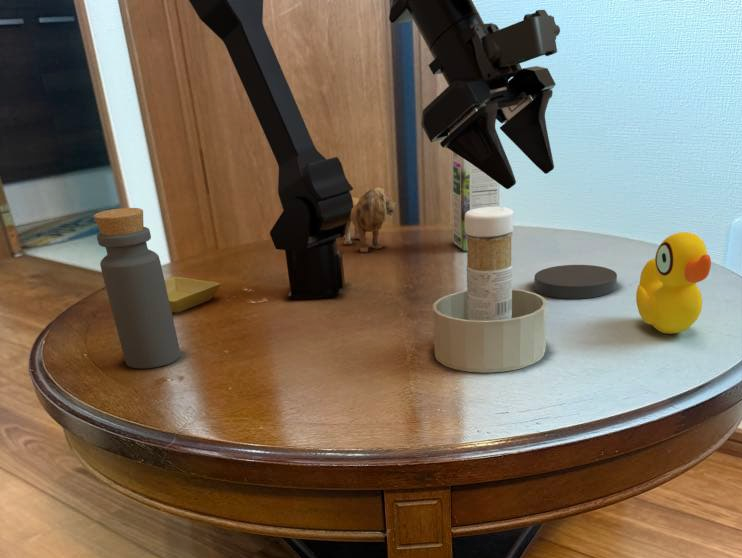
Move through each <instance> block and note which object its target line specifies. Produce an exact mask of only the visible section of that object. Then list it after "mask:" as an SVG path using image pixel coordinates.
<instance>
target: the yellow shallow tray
mask: <svg viewBox="0 0 742 558" xmlns="http://www.w3.org/2000/svg"><path fill="white" fill-rule="evenodd" d="M164 280H165V285H166V289H167V294H168V298H169V303H170V307H171V312H172V313H175V314H177V313H180V312H182V311H183V312H184V311H185V310H188V309H190V308H194V307H195V306H198V305H201V304H205V303H207V302H209V301H210V300H211V299H213V297H214V296H215V294H217V292H218V290H219V289H220V287H221V283H220V282H217V281H209V280H204V279H203V280H202V279H194V278H187V277H180V276H174V277H173V276H172V277H169V278H167V279H164Z"/></svg>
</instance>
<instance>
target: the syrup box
mask: <svg viewBox="0 0 742 558" xmlns="http://www.w3.org/2000/svg"><path fill="white" fill-rule="evenodd" d="M500 197H501V185H500V184H499V183H497V182H496V181H495V180H493V179H492V178H491V177H489V176H488V175H486V174H485V173H484V172H482V171H481V170H480V169H478V168H477V167H475V166H474V165H473V164H471V163H470V162H468V161H467V160H465V159H464V158H462V157H460V156H459V155H457V154H456V153H454V152H453V151H452V224H453V227H452V229H453V245H455V246H457V247H458V248H460V249H461V250H462V251H463V252H467V238H466V236H467V234H466V233H465V213H466V212H467V211H469V210H472V209H476V208H482V207H501V203H500V202H501V201H500V199H501V198H500Z"/></svg>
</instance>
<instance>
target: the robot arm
mask: <svg viewBox="0 0 742 558" xmlns="http://www.w3.org/2000/svg"><path fill="white" fill-rule="evenodd" d="M188 2H189V3H190V6H192V8H193V10H194V12H195V14H196V15H197V16H198V19H199V20H200V21H201V22H202V23H203V24H204V25H206V27H207V28H208V29H209V30H210V31H212V33H214V35H216V37H218V38H219V39H220V40H221V41H222V43H223V45H224V46H225V48H226V50H227V53H228V55H229V57H230V59H231V61H232V64H233V66H234V69H235V70H236V74H237V75H238V78H239V80H240V82H241V84H242V87H243V89H244V91H245V94H246V95H247V98H248V100H249V102H250V105H251V107H252V109H253V111H254V114H255V116H256V118H257V120H258V123H259V125H260V127H261V129H262V131H263V134H264V136H265V138H266V140H267V143H268V145H269V147H270V151H272V155H273V156H274V159H275V161H276V164H277V166H278V176H277V177H278V178H277V179H278V180H277V194H278V197H279V201H280V205H281V207H282V212H281V214H280V215H279V217H278V218H277V220H276V221H275V223H274V224H273V227H271V229H270V231H269V235H270V238H271V240H272V243H273V246H274V248H275V249H276V250H281V251H284V253H285V260H286V267H287V274H288V275H287V276H288V282H289V289H290V290H289V293H288V294H287V296H288V299H289V300H296V299H297V300H299V299H300V300H301V299H318V298H320V299H321V298H337V297H339V296H340V293H341V291H342V289H343V288H344V286H345V283H346V280H345V271H344V270H345V269H344V261H343V259H344V258H343V252H342V251H341V250H338V244H337V239H341V238H345V230H346V225H347V221H348V219H349V218H350V215H351V210H352V208H353V200H352V197H353V196H352V193H351V192H352V191H353V190H354V188H353V186H352V185H351V184H350V182H349V181H348V179H347V177H346V175H345V171H344V167H343V164H342V162H341V160H340V159H339V157H337V156H334V157H330V158H326V157H325V156H324V155H323V154H322V153H321V152H320V151H318V149H317V147H316V146H315V144H314V141H313V139H312V137H311V135H310V132H309V129H308V127H307V125H306V123H305V121H304V118H303V115H302V113H301V111H300V109H299V106H298V104H297V101H296V100H295V99H296V98H295V97H294V95H293V93H292V91H291V88H290V86H289V83H288V81H287V78H286V76H285V73H284V71H283V69H282V66H281V64H280V62H279V60H278V57H277V54H276V52H275V50H274V48H273V46H272V43H271V41H270V39H269V36H268V34H267V31H266V28H265V27H264V21H263V20H264V0H188ZM388 20H389V22H390V23H393V24H395V23H396V24H397V23H410V22H411V21H413V22H414V24H415V26H416V28H417V30H418V32H419V33H420V35H421V37H422V39H423V41H424V42H425V44H426V46H427V48H428V51H429V52H430V54H431V56H432V57H433V60H432V61H431V62H430V63H429V64H428V67H429V70H430V71H431V73H432V75H433V76H435V75H442V77H443V78H444V80H445V82H446V83H447V87H446V88H445V89H444V90H443V91H441V93H440V94H438V96H436V97H435V98H434V99H433V100H432V101H431V102H430V103H429V104H428V105H427V106H426V107H424V108H423V109H422V113H421V114H422V115H421V124H420V125H421V127H422V129H423V131H424V132H425V134H426V136H427V138H428V140H429V142H430V143H434V142H438V141H440V142H439V145H440V146H441V148H443V149H445V148H446V149H448V150H450V151H451V152H452V153H453V152H454V153H456V154H457V155H459V156H460V157H462V158H464V159H465V160H467V161H468V162H470V163H471V164H473V165H474V166H475V167H477V168H478V169H480V170H481V171H482V172H484V173H485V174H486V175H488V176H489V177H491V178H492V179H493V180H495V181H496V182H497V183H499V184H500V186H502V187H503V188H504V189H506V190H510V189H512V188H513V186H515V185H516V184H517V179H516V177H515V175H514V172H513V168H512V166H511V163H510V162H509V159H508V156H507V154H506V152H505V149H504V146H503V144H502V142H501V139H500V136H499V134H498V132H497V128H496V124H497V123H496V122H497V121H498V122H499V123H500V124H501V126H499V130H501V131H502V132H503V134H505V136H506V137H507V138H508V139H509V140H510V141H511V142H512V143H513V144H514V145H515V146H516V147H517V148H518V149H519V150H520V151H521V152H522V153H523V154H524V155H525V156H526V157H527V158H528V159H529V160H530V161H531V162H532V163H533V164H534V165H535V166H536V167H537V168H538V169H539V170H540V171H541V172H542V173H543V174H545V175H547V174H549V173H550V172H552V171H553V170H554V169H555V164H554V157H553V153H552V149H551V143H550V138H549V133H548V128H547V120H546V111H547V109H548V104H549V101H550V99H552V97H553V95H554V94H553V89H554V88H555V86H557V84H556V82H555V80H554V78H553V77H552V74H551V72H550V71H549V68H547V67H543V66H538V65H534V66H529V67H524V68H522V66H521V64H522V63H525V62H527V61H528V62H529V61H531V60H533V59H536V58H539V57H542V56H545V57H549V56H552V55H555V54H557V53H558V48H557V41H556V40H557V37H558V36H559V35H560V32H561V28H560V26H559V25H558V24H556V21H555V17H554V16H552V15H549V14H548V12H547V11H546V9H537V10H535V12H533V13H527V14H524V16H523V20H521V21H518V22H516V23H513V24H510V25H508V26H505V27H503V28H499V26H498V25H497V24H495V23H492V22H490V23H489V22H488V23H485V22H484V20H483V19H482V17H481V15H480V12H479V11H478V9H477V7H476V5H475V4H474V1H473V0H392V4H391V6H390V10H389V16H388Z"/></svg>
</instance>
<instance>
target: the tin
mask: <svg viewBox="0 0 742 558" xmlns="http://www.w3.org/2000/svg"><path fill="white" fill-rule="evenodd" d="M432 319H433V321H432V322H433V343H434V344H433V345H434V358H435V360H436V361H437V362H438V363H439V364H441V365H443V366H445V367H447V368H450V369H454V370H456V371H462V372H470V373H482V374H483V373H485V374H486V373H488V374H489V373H501V372H510V371H516V370H519V369H523V368H527V367H530V366H532V365H534V364H536V363H538V362H539V361H541V360H542V359H543V357H544V356H545V353H546V350H547V349H546V348H547V320H548V302H547V300H546V298H545V297H544V296H542V295H541V294H539V293H537V292H536V293H535V292H532V291H529V290H524V289H518V288H517V289H516V288H512V317H511V318H510V319H504V320H488V321H479V320H468V308H467V289H466V290H461V291H457V292H453V293H449V294H446V295H444V296H442V297H440V298H438V299H437V300H436V301H435V302H434V303H432Z"/></svg>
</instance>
